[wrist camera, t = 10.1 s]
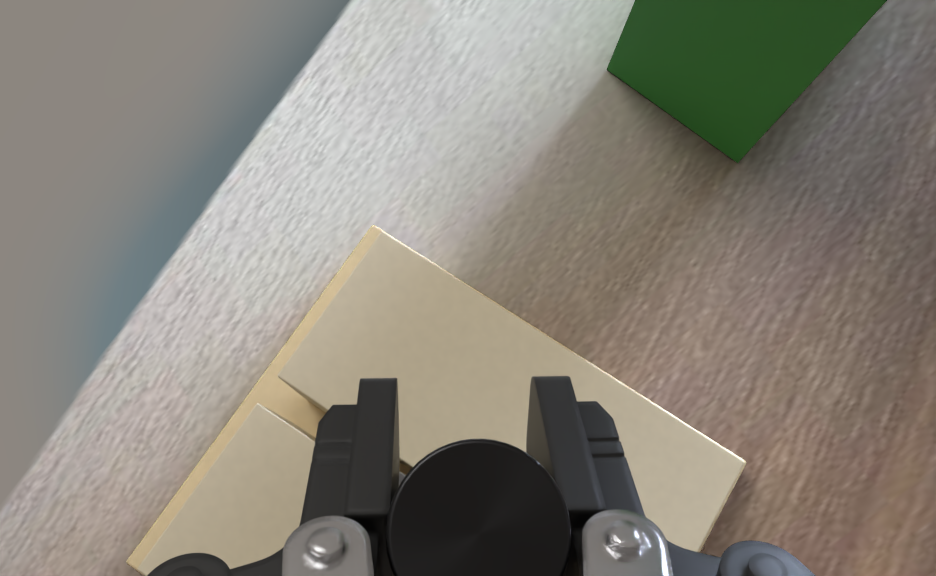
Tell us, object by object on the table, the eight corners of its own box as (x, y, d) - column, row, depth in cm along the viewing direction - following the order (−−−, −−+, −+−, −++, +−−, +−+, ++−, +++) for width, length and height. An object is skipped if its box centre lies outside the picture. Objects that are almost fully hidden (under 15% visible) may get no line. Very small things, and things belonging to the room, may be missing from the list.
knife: (322, 478, 24) (189, 452, 11) (369, 408, 25) (300, 303, 11) (537, 624, 23) (685, 798, 10) (580, 549, 24) (774, 614, 11)
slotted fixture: (134, 560, 29) (46, 579, 23) (374, 231, 33) (360, 163, 26) (534, 848, 27) (569, 962, 21) (738, 463, 31) (823, 453, 25)
